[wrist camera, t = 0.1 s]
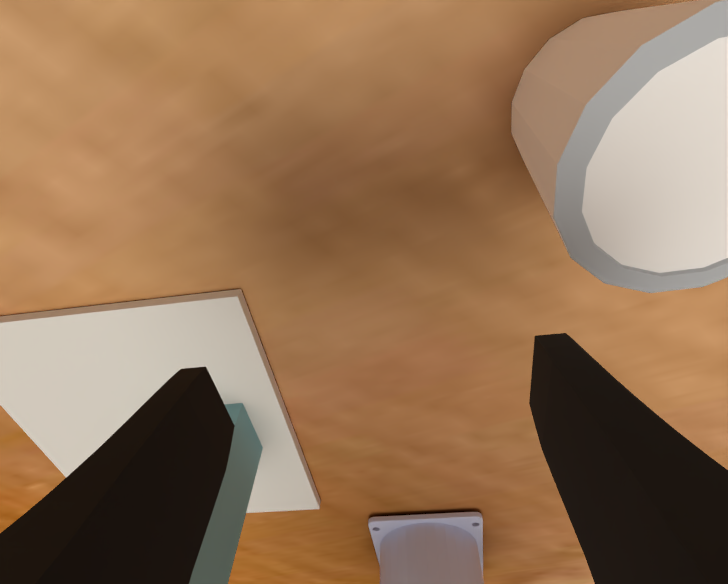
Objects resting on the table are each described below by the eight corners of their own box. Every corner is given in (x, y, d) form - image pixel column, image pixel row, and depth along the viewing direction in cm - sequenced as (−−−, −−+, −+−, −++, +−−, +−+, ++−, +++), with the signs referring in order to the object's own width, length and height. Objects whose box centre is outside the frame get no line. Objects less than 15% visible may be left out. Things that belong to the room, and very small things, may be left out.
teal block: (262, 447, 27) (216, 625, 19) (200, 452, 27) (131, 626, 20) (242, 402, 24) (181, 583, 17) (174, 408, 25) (86, 587, 17)
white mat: (320, 500, 31) (319, 508, 30) (109, 512, 33) (105, 520, 32) (240, 289, 21) (237, 296, 20) (-58, 322, 23) (-68, 330, 22)
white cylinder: (728, 108, 16) (930, 178, 10) (554, 227, 18) (633, 335, 13) (642, -71, 13) (850, -119, 7) (454, 100, 16) (496, 164, 10)
